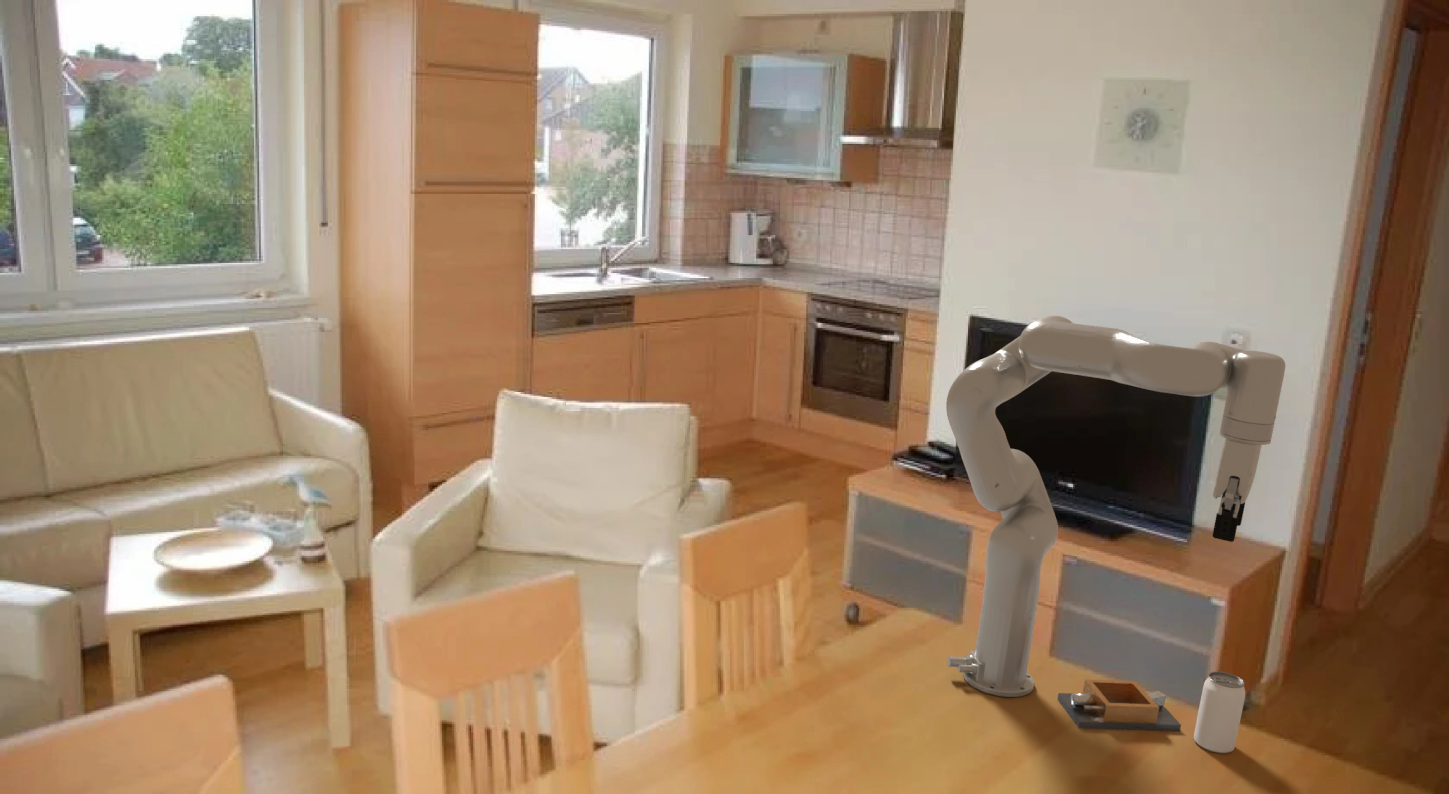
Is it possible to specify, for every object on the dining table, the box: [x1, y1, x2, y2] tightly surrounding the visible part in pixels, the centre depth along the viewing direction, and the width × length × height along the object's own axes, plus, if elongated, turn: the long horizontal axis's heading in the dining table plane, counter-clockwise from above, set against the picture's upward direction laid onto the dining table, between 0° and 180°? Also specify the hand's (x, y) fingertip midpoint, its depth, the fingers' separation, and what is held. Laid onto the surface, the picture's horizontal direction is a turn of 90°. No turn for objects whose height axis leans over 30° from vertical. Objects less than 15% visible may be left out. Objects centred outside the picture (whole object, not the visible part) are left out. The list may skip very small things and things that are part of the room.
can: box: [1193, 671, 1246, 754], centre depth 195 cm, size 6×6×12 cm
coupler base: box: [1057, 678, 1182, 732], centre depth 203 cm, size 18×10×4 cm, turn 95°
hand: (1226, 531), depth 189 cm, fingers open, 9 cm apart
